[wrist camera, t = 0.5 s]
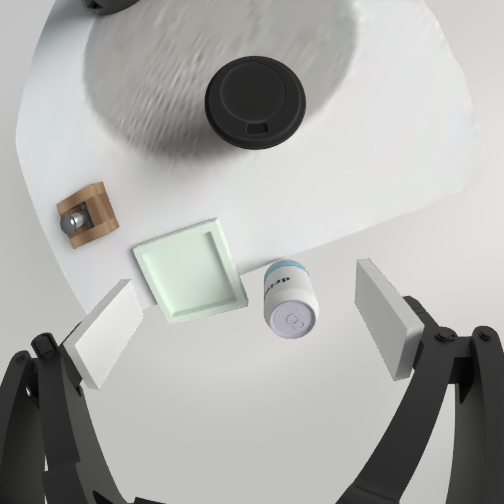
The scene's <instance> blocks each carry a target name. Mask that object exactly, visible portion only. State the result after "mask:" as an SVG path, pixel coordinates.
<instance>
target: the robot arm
mask: <svg viewBox="0 0 504 504" xmlns="http://www.w3.org/2000/svg"><path fill="white" fill-rule="evenodd" d="M81 1H82V3H83V5H84V6H85V7H86V8H87V9H89V10H90V11H92V12H93V13H95V14H100V15H105V14H112V13H115V12H118V11H121V10H123V9H125V8H127V7H129V6H131V5H133V4H134V3H136V2H137V1H139V0H81ZM355 304H356V306H357V308H358V310H359V312H360V313H361V315H362V317H363V319H364V321H365V323H366V325H367V327H368V329H369V331H370V333H371V335H372V337H373V339H374V341H375V343H376V345H377V347H378V349H379V351H380V353H381V355H382V357H383V359H384V362H385V363H386V366H387V368H388V370H389V372H390V374H391V376H392V379H393V381H396V380H400V379H405V378H408V377H410V374H411V371H412V368H413V369H414V370H415V372H414V374H413V377H412V379H411V381H410V384H409V386H408V388H407V390H406V392H405V395H404V397H403V399H402V401H401V403H400V405H399V407H398V409H397V411H396V413H395V415H394V417H393V419H392V421H391V422H390V425H389V426H388V428H387V430H386V432H385V433H384V435H383V437H382V439H381V440H380V442H379V444H378V445H377V447H376V449H375V450H374V452H373V454H372V455H371V457H370V458H369V460H368V462H367V463H366V464H365V466H364V468H363V469H362V470H361V472H360V473H359V475H358V476H357V478H356V479H355V480H354V482H353V483H352V484H351V485H350V486H349V487H348V488H347V490H346V491H345V492H344V493H343V495H342V496H341V497H340V498H339V500H338V501H337V502H336V503H335V504H399V500H400V498H401V496H402V494H403V492H404V491H405V489H406V487H407V485H408V483H409V481H410V479H411V477H412V476H413V474H414V472H415V469H416V467H417V465H418V463H419V461H420V459H421V457H422V455H423V452H424V450H425V448H426V445H427V443H428V441H429V438H430V436H431V433H432V430H433V428H434V425H435V423H436V420H437V417H438V414H439V411H440V408H441V405H442V402H443V399H444V395H445V392H446V389H447V385H448V384H455V435H454V450H453V461H452V470H451V476H450V483H449V489H448V494H447V499H446V504H504V352H503V349H502V346H501V342H500V339H499V336H498V334H497V332H496V331H495V330H494V329H492V328H490V327H488V326H478V327H476V328H475V329H474V331H473V333H472V336H469V337H458V336H457V334H456V332H455V331H453V330H452V329H450V328H447V327H439V326H438V324H437V323H436V322H435V321H434V319H433V318H432V317H431V316H430V315H429V313H428V312H426V310H425V309H424V308H423V307H422V305H421V304H420V303H419V302H418V301H417V300H416V299H414V298H412V297H411V296H405V297H402V296H401V295H400V294H399V293H398V291H397V290H396V289H395V288H394V287H393V285H392V284H391V283H390V282H389V281H388V279H387V278H386V277H385V276H384V275H383V273H382V272H381V271H380V270H379V269H378V268H377V266H376V265H375V264H374V263H373V262H372V261H371V260H370V259H369V258H367V259H358V260H357V269H356V290H355ZM143 318H144V316H143V313H142V310H141V307H140V304H139V301H138V298H137V294H136V291H135V288H134V285H133V281H132V279H122V280H121V281H120V282H119V283H118V284H117V285H116V286H115V287H114V288H113V289H112V290H111V291H110V292H109V293H108V294H107V295H106V296H105V297H104V298H103V299H102V300H101V302H100V303H99V304H98V305H97V306H96V307H95V308H94V309H93V310H92V311H91V312H90V313H89V315H88V316H87V317H86V318H85V319H84V320H83V321H82V322H80V323H79V324H78V325H77V326H76V327H75V328H74V330H72V332H71V333H70V334H69V335H68V336H67V337H66V338H65V340H64V341H63V342H62V343H61V344H60V346H59V347H58V345H57V343H56V341H55V340H54V338H53V336H52V334H51V333H42V334H40V335H38V336H37V337H35V338H34V339H33V340H32V342H31V346H32V348H33V349H34V351H35V353H36V355H37V357H38V358H31V356H30V354H29V352H28V351H26V350H25V351H19V352H18V353H16V354H15V355H14V356H13V357H12V359H11V361H10V363H9V366H8V368H7V371H6V373H5V375H4V378H3V381H2V383H1V386H0V504H45V496H46V500H47V504H164V503H160V502H155V501H150V500H146V499H142V498H138V497H135V501H134V503H127V502H126V501H125V500H124V499H123V497H122V496H121V494H120V493H119V491H118V489H117V487H116V484H115V482H114V480H113V478H112V476H111V473H110V471H109V468H108V466H107V464H106V461H105V459H104V456H103V453H102V451H101V448H100V445H99V443H98V440H97V437H96V434H95V431H94V428H93V425H92V421H91V419H90V415H89V412H88V408H87V404H86V401H85V397H84V393H83V389H82V387H81V386H80V382H81V380H82V379H83V381H84V382H85V384H86V386H87V387H88V388H92V389H97V390H100V388H101V386H102V385H103V383H104V381H105V380H106V378H107V376H108V374H109V373H110V371H111V369H112V368H113V366H114V364H115V363H116V361H117V359H118V357H119V356H120V355H121V353H122V351H123V350H124V348H125V346H126V345H127V343H128V342H129V340H130V338H131V337H132V335H133V334H134V332H135V330H136V329H137V327H138V326H139V324H140V323H141V321H142V319H143ZM26 388H27V389H28V391H29V392H30V395H29V396H28V394H27V390H26ZM45 454H46V460H47V465H48V471H44V470H45Z"/></svg>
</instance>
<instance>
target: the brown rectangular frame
mask: <svg viewBox="0 0 504 504" xmlns="http://www.w3.org/2000/svg"><path fill="white" fill-rule="evenodd" d="M84 203H86V206H87V208H88V211H89V214H90V216H91V219H92V221H93V224H94V227H92V228H90V229H89V227H88V225H87V223H86V224H84V225H82V226H80V227H78V228H76V229H75V231H74V232H73V233H71V234H68V237H69V239H70V241H71V244H72V246H73V249H75V248H77V247H79V246H81V245H84V244H86V243H88V242H90V241H93V240H95V239H97V238H99V237H102V236H104V235H106V234H108V233H110V232H112V231H113V230H115V229H117V228H118V227H119V225H118V222H117V220H116V217H115V215H114V212H113V209H112V207H111V204H110V202H109V199H108V196H107V193H106V191H105V188H104V185H103V182H99V183H95V184H92V185H89V186H87V187H85V188H83V189H82V190H80V191H78V192H76V193H75V194H73V195H71V196H70V197H68V198H66V199H65V200H63V201H61V202H60V203H58V204H57V208H58V211H59V213H60V216H61V218H62V217H63V216H65V215H72V214H75V213H77V212H79V211H82V209H81V206H80V205H82V204H84Z"/></svg>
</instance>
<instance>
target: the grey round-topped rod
mask: <svg viewBox="0 0 504 504" xmlns="http://www.w3.org/2000/svg"><path fill="white" fill-rule="evenodd" d="M90 221H92V219H91V216H90V214H89V211H88V208H87V209H84V210H82V211H79V212H77V213H75V214H72V215H65V216H63V217H62V218H61V221H60V225H61V229H62V230H63V232H64V233H66V234H71V233H73V232H74V231H75V229H76V228H78V227H80V226H82V225H84V224H86V223H88V222H90Z"/></svg>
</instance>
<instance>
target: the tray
mask: <svg viewBox="0 0 504 504" xmlns="http://www.w3.org/2000/svg"><path fill="white" fill-rule="evenodd" d="M132 250H133V252H134V254H135V257H136V259H137V261H138V263H139V265H140V268H141V270H142V272H143V274H144V276H145V278H146V280H147V283H148V285H149V287H150V289H151V291H152V293H153V295H154V297H155V299H156V301H157V303H158V305H159V307H160V308H161V310H162V313H163V314H164V316H165V318H166V320H167V322H168V324H173V323H178V322H182V321H187V320H192V319H196V318H200V317H205V316H209V315H213V314H218V313H222V312H226V311H230V310H234V309H239V308H242V307H246V306H248V298H247V295H246V292H245V290H244V287H243V285H242V282H241V279H240V276H239V274H238V271H237V268H236V266H235V263H234V260H233V258H232V255H231V252H230V249H229V247H228V244H227V241H226V238H225V236H224V233H223V230H222V227H221V225H220V222H219V219H218V218H215V219H212V220H209V221H206V222H203V223H200V224H197V225H194V226H191V227H188V228H185V229H182V230H179V231H176V232H173V233H170V234H167V235H165V236H162V237H159V238H156V239H153V240H150V241H148V242H145V243H142V244H139V245H137V246H136V247H135V248H133V249H132Z"/></svg>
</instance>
